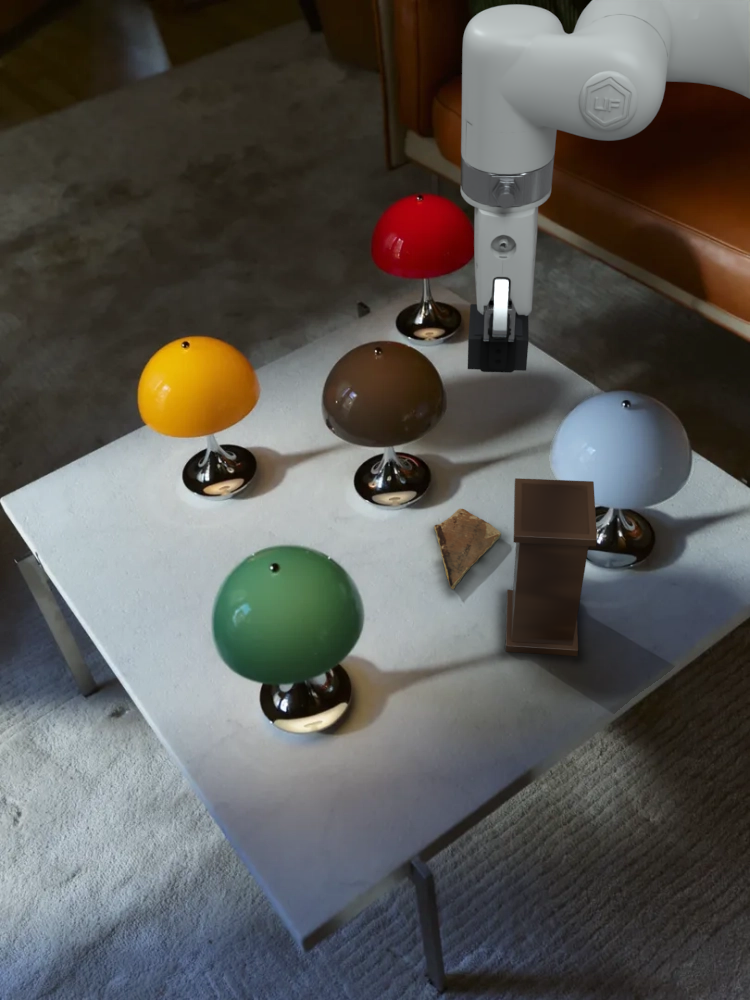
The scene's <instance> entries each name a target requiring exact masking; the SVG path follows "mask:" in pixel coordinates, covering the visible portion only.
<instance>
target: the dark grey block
mask: <svg viewBox="0 0 750 1000" xmlns="http://www.w3.org/2000/svg"><path fill="white" fill-rule="evenodd" d="M489 305H491V304H489ZM469 306H470V307H469V308H470V309H469V320H468V321H469V323H468V339H467V370H477V371H481V370H480V351H481V334H484V316H485V313H484V314H483V315H482V314H481V313H480V312H479V311H478V310H477V303H475V304H474V303H471V304H470V305H469ZM490 325H493V315H490ZM507 325H509V315H507ZM529 331H530V330H529V315H527V316H525V315H518V314H517V312H516V313H515V330H514V335H516V352H515V367H514V371H517V372H518V371H520V372H521V371H523V372H524V371H525V372H526V371H527V367H528V366H527V364H528V355H529V354H528V352H529V342H530V341H529V340H530V337H529V334H530V333H529Z"/></svg>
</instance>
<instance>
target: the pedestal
mask: <svg viewBox="0 0 750 1000" xmlns="http://www.w3.org/2000/svg"><path fill="white" fill-rule="evenodd" d="M513 496H514V497H513V503H514V504H513V538H512V539H513V540H512V541H513V543H514V544H515V555H514V568H513V579H512V580H513V581H512V582H513V583H512V589H507V590H506V612H505V613H506V616H505V617H506V619H505V652H506V653H520V654H534V655H535V654H537V655H551V656H552V655H553V656H569V657H570V656H571V657H578V653H579V637H578V636H579V635H578V615H579V608H580V601H581V596H582V589H583V584H584V578H585V572H586V566H587V559H588V553H589V548H590V547H596V546H597V543H598V533H597V532H598V531H597V517H596V516H597V515H596V497H595V483H594V481H589V480H572V479H571V480H570V479H569V480H568V479H547V478H546V479H545V478H544V479H543V478H520V477H519V478H514V495H513Z"/></svg>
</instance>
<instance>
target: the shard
mask: <svg viewBox="0 0 750 1000" xmlns="http://www.w3.org/2000/svg"><path fill="white" fill-rule="evenodd" d="M433 528H434V532H435V535H436V538H437V542H438V546H439V550H440V555H441V558H442V563H443V567H444V571H445V575H446V580H447V582H448V585H449V588H451V590H455V588H456V587H457V585H458V584H459V583H460V582H461V580H462V579H463V577H464V576H465V575H466V574H467V572H468V571H470V569H471V567H472V566H473V565H475V564H476V563H477V561H478V560H479V559H480V558H481V557H482V556H483V555H484V554H485V553H486V552H487V551H488V550H489V549H490V548H492V547H493V546H494V544H495V543H496V542H497V541H498V540H499V539H500V537H501V536H502V533H501V531H500V530H499V529H497V528H495V526H493V525H492V524H491V523H489V522H487V521H486V520H484V519H482V518H480V517H479V516H476V515H474V514H473V513H471V512H470V511H468V510H466V509H465V508H458V509H457V510H455V512H454V513H453V514H452V515H450V516H449V517H448V518H447V519H445V520H443V521H442V522H441V523H438V524H435V525H434V527H433Z"/></svg>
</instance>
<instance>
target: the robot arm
mask: <svg viewBox="0 0 750 1000" xmlns="http://www.w3.org/2000/svg"><path fill="white" fill-rule="evenodd" d="M463 32H464V33H463V37H462V50H461V51H462V52H461V53H462V56H461V60H462V61H461V62H462V63H461V73H462V74H461V127H460V129H461V130H460V133H461V136H460V137H461V138H460V194H461V197H462V198H463V200H464V201H465V202H466V203H467V204H469V205H470V206H472V207H474V223H473V224H474V225H473V226H474V227H473V228H474V232H473V233H474V235H473V237H474V239H473V247H474V248H473V249H474V250H473V251H474V281H475V294H476V304H477V310H478V311H479V312H480V313H481V314H482V315H483V314H484V313H485V316H484V334H481V351H480V370H479V371H481V372H482V373H505V374H506V373H507V374H508V373H509V374H511V373H514V371H515V370H514V367H515V352H516V335H514V330H515V313H516V312H517V314H518V315H525V316H527V315H528V316H529V315H530V314H531V313H532V312H533V300H534V283H535V269H536V256H537V255H536V254H537V241H538V225H539V224H538V223H539V207H540V206H541V205H543V204H544V203H546V202H547V201H548V199H549V198H550V197H551V193H552V185H553V175H554V165H555V164H554V163H555V153H556V152H555V151H556V140H557V131H561V132H564V133H568V134H572V135H575V136H578V137H583V138H586V139H590V140H591V139H592V140H597V141H605V142H607V141H608V142H610V141H621V140H625V139H628V138H631V137H633V136H635V135H637V134H639V133H641V132H642V131H643V130H645V129H646V128H647V127H648V126H649V125H650V124H651V123H652V122H653V120H654V119H655V117H656V116H657V114H658V113H659V111H660V108H661V105H662V103H663V99H664V96H665V91H666V84H667V82H668V83H669V82H671V83H672V82H674V83H675V82H677V83H694V84H702V85H707V86H709V85H710V86H714V87H717V88H718V87H719V88H723V89H725V90H729V91H731V92H734V93H737V94H740V95H742V96H744V97H746V98H748V99H749V100H750V0H591V1H590V2H589V3H588V4H587V5H586V7H585V8H584V9H583V10H582V11H581V14H580V15H579V17H578V19H577V20H576V24H575V27H574V29H573V31H572V33H567V32H565V30H564V27H563V24H562V23H561V21H560V20H559V18H558V17H557V16H556V15H555V14H554V13H552V12H551V11H549V10H548V9H545V8H543V7H540V6H535V5H529V4H519V3H518V4H516V3H515V4H514V3H513V4H502V5H497V6H492V7H488V8H486V9H484V10H482V11H480V12H478V13H476V15H474V16H473V17H472V18H471V19H470V20H469V22H468V23H467V25H466V27H465V29H464V31H463ZM489 304H491V305H489ZM490 315H493V325H490ZM507 315H509V325H507Z"/></svg>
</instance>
